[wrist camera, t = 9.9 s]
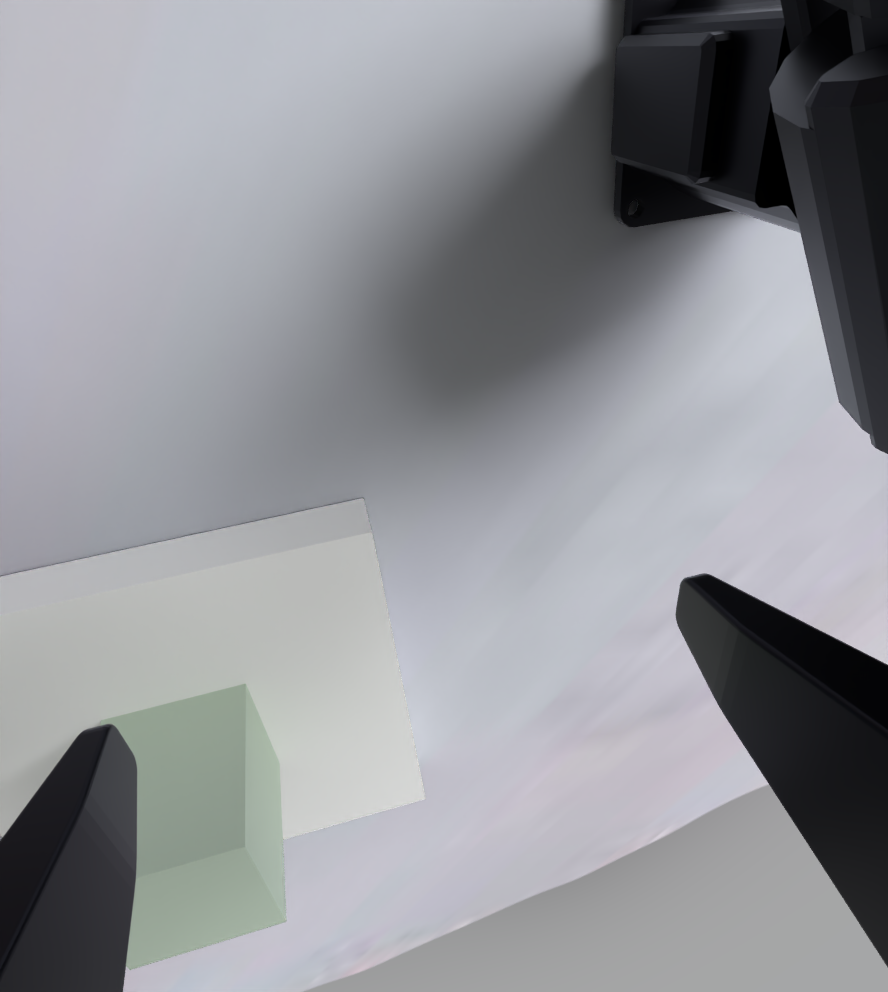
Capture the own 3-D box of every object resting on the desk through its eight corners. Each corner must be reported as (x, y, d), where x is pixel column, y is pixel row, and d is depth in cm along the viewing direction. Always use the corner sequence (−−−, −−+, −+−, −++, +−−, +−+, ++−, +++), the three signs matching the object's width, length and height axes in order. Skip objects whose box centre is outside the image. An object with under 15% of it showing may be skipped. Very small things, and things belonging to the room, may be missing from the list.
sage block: (245, 683, 23) (244, 846, 19) (279, 762, 26) (286, 921, 22) (101, 720, 23) (61, 899, 18) (152, 797, 26) (129, 969, 21)
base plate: (363, 498, 23) (372, 531, 21) (416, 761, 32) (425, 799, 30) (-141, 606, 20) (-174, 654, 19) (74, 856, 30) (65, 902, 28)
